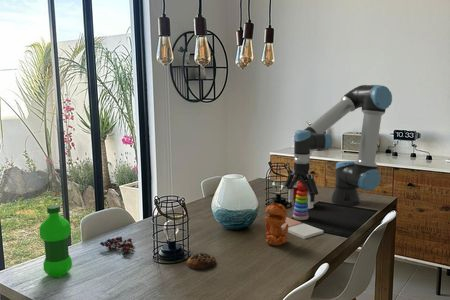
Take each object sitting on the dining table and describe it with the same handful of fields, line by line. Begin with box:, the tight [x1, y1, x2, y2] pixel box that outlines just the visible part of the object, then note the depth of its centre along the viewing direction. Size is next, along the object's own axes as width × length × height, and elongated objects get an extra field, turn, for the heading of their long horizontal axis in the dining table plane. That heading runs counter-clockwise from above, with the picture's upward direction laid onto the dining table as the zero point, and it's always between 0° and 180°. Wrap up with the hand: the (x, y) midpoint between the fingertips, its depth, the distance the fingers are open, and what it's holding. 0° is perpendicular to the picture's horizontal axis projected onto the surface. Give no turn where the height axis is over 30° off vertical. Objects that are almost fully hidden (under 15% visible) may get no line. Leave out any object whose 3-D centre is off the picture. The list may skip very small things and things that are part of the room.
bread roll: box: [186, 252, 217, 271], centre depth 162 cm, size 11×11×5 cm
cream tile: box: [287, 223, 324, 240], centre depth 195 cm, size 12×12×1 cm
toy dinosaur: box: [263, 201, 289, 246], centre depth 181 cm, size 11×11×18 cm
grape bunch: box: [99, 236, 136, 256], centre depth 177 cm, size 15×14×5 cm
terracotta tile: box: [264, 216, 303, 231], centre depth 205 cm, size 12×12×1 cm
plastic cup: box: [292, 182, 309, 207], centre depth 235 cm, size 11×11×12 cm
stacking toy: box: [292, 181, 310, 221], centre depth 213 cm, size 8×8×19 cm
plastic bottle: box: [39, 204, 73, 278], centre depth 153 cm, size 10×11×25 cm
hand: (300, 204), depth 213 cm, fingers open, 13 cm apart
